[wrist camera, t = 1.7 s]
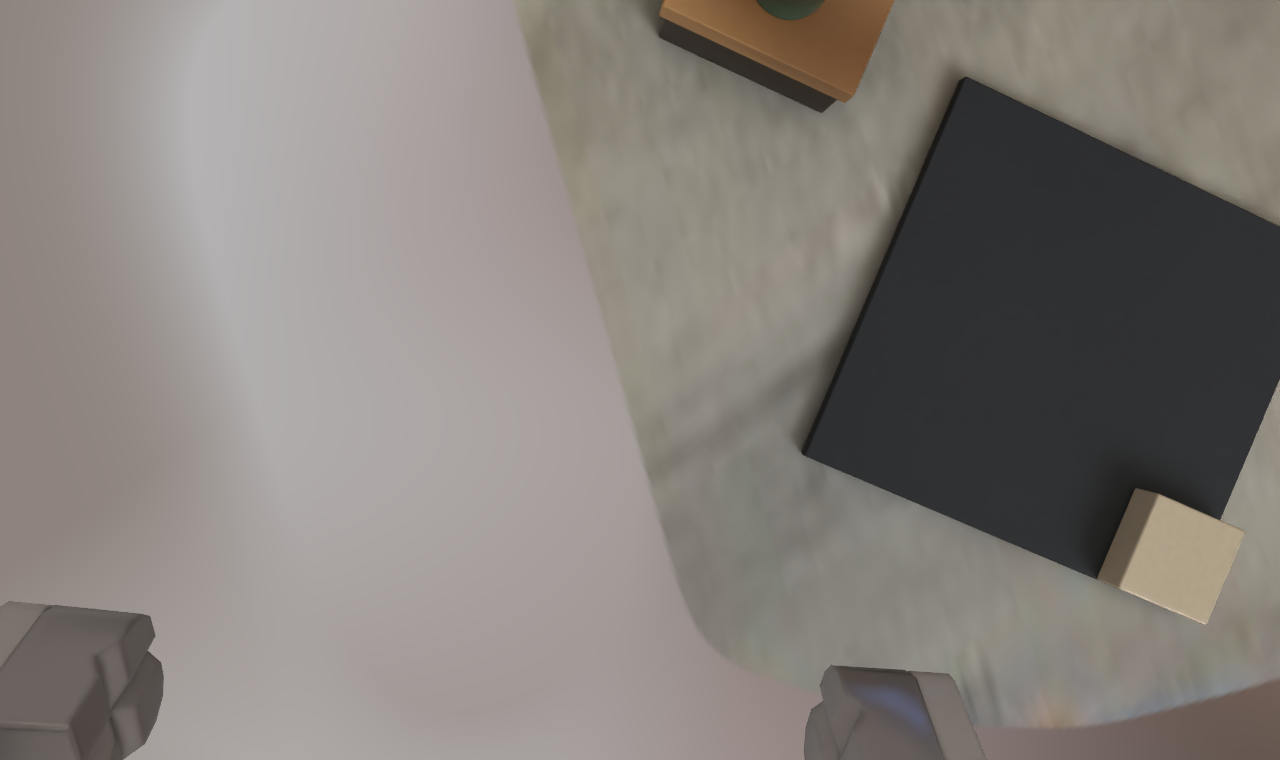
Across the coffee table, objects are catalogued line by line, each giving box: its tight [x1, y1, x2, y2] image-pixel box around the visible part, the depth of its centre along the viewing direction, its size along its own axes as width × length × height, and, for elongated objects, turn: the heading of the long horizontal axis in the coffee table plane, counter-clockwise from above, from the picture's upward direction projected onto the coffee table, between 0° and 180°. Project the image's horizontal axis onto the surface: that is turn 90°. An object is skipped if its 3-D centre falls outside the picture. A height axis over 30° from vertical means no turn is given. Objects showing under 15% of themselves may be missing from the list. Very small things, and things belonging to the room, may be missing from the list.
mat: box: [802, 77, 1280, 580], centre depth 36 cm, size 16×17×1 cm
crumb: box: [1097, 488, 1245, 625], centre depth 36 cm, size 4×4×2 cm
